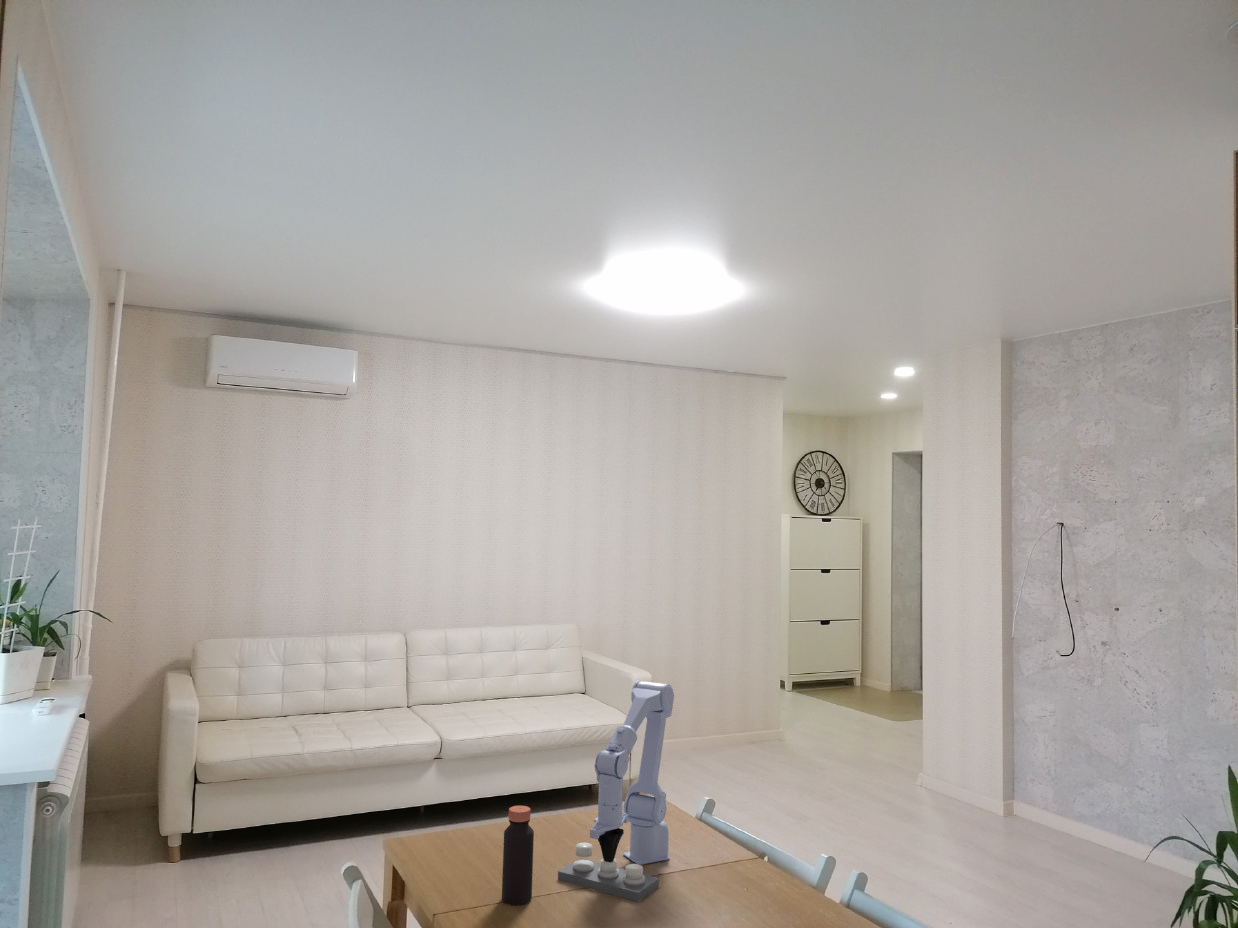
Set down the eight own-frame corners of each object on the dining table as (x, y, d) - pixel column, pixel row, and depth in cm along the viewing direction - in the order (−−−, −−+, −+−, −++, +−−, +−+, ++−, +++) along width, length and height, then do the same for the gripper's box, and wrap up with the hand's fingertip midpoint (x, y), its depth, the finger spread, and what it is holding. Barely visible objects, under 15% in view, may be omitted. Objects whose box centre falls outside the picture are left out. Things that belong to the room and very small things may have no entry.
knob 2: (620, 868, 209) (620, 859, 209) (611, 873, 205) (611, 865, 205) (605, 864, 211) (605, 856, 211) (596, 870, 207) (597, 861, 207)
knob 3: (645, 874, 205) (645, 866, 205) (637, 880, 202) (637, 871, 202) (630, 871, 207) (631, 862, 207) (622, 876, 204) (622, 867, 204)
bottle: (517, 890, 202) (520, 801, 203) (538, 899, 198) (540, 808, 199) (495, 899, 197) (498, 808, 198) (516, 908, 193) (519, 815, 194)
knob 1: (595, 853, 212) (595, 844, 212) (586, 858, 209) (586, 849, 209) (581, 849, 214) (581, 841, 215) (572, 854, 211) (572, 846, 211)
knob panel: (658, 886, 206) (659, 873, 207) (638, 901, 198) (638, 888, 198) (580, 866, 218) (580, 853, 218) (557, 879, 209) (558, 866, 209)
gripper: (611, 791, 217) (609, 848, 216) (579, 807, 205) (577, 866, 204) (636, 797, 214) (634, 854, 213) (605, 812, 201) (603, 873, 200)
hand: (608, 860), depth 208 cm, fingers closed, pressing on knob 2
